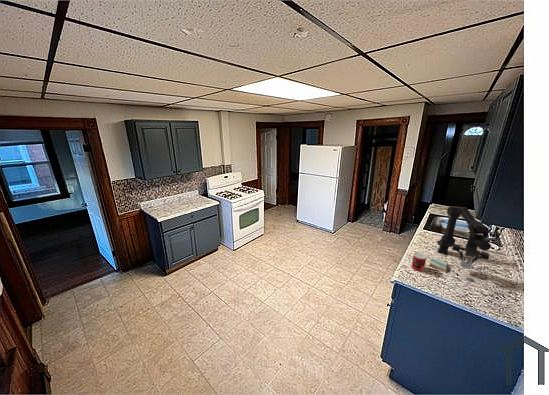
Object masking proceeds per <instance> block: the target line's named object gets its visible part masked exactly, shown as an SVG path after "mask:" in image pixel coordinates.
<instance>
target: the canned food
mask: <svg viewBox="0 0 549 395" xmlns="http://www.w3.org/2000/svg"><path fill="white" fill-rule="evenodd" d="M427 258H428V257H427V255H426V254H425V253H422V252H418V251H415V252H414V253H413V257H412V261H411V268H412V270H414V271H416V272H423V271H424V269H425V266H426V261H427Z"/></svg>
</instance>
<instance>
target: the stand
mask: <svg viewBox="0 0 549 395" xmlns="http://www.w3.org/2000/svg"><path fill="white" fill-rule="evenodd" d="M448 265H449V263H448V262H446V261H443V260H440V259H437V258H434V257H432V258H431V259H430V261H429V266H428V267H429V268H433V269H435V270H438V271H441V272H444V273H446V272H447V270H448Z"/></svg>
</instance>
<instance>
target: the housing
mask: <svg viewBox="0 0 549 395" xmlns="http://www.w3.org/2000/svg"><path fill="white" fill-rule="evenodd" d="M472 260H473V259H469V258H466V257H463V259H462V261H461V260H460V267H461V268H465V269H468V270H471V267H472V264H473V263H472Z"/></svg>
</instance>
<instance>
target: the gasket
mask: <svg viewBox="0 0 549 395" xmlns="http://www.w3.org/2000/svg"><path fill="white" fill-rule="evenodd" d="M465 280H466V281H468V282H470V283H474V282H475V279H473V278H472V277H468V276H467V277H465Z"/></svg>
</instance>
